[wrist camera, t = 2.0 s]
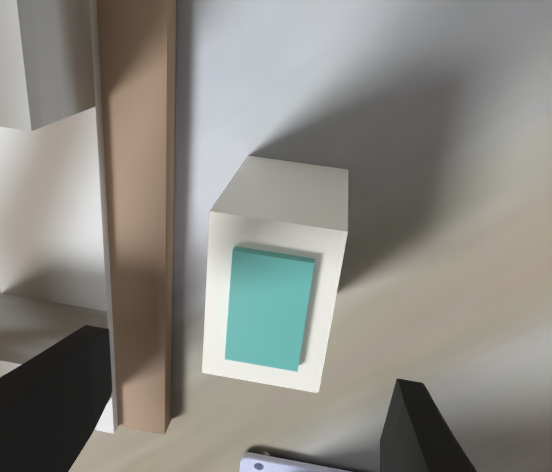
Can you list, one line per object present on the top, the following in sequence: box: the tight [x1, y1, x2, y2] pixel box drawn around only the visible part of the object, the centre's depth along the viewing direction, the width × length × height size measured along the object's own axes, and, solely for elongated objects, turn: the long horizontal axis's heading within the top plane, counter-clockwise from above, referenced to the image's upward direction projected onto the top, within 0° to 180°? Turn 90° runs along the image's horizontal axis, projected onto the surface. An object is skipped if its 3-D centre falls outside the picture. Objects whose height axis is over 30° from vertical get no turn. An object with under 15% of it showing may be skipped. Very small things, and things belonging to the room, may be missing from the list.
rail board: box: [0, 0, 177, 435], centre depth 19 cm, size 10×24×6 cm, turn 174°
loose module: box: [202, 156, 348, 393], centre depth 18 cm, size 4×6×6 cm, turn 174°
